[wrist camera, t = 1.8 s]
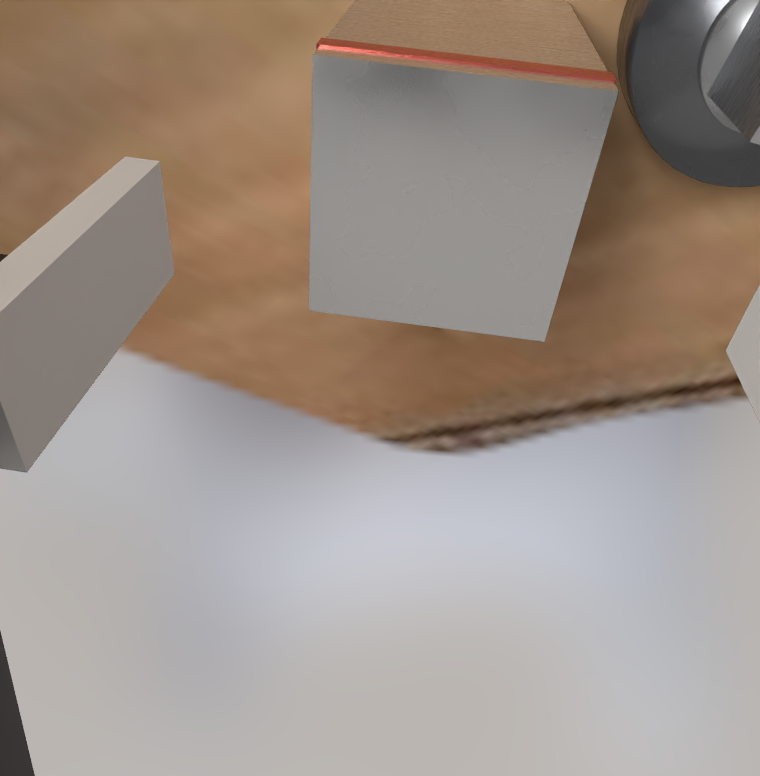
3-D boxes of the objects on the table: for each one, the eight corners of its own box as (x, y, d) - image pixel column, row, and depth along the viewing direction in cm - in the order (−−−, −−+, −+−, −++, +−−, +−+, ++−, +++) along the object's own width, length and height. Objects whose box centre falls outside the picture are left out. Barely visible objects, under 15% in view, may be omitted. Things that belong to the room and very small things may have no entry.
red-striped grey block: (358, 171, 26) (307, 311, 18) (370, -24, 22) (310, 52, 14) (525, 192, 26) (546, 343, 18) (570, -1, 21) (621, 88, 14)
